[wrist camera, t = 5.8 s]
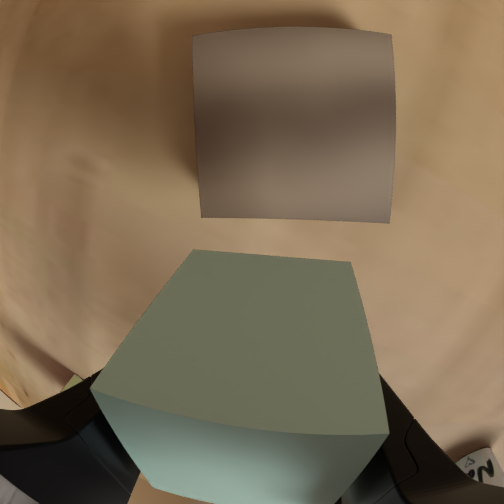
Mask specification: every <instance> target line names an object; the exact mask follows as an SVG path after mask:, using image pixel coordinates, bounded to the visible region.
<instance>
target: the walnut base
mask: <svg viewBox="0 0 504 504" xmlns="http://www.w3.org/2000/svg"><path fill="white" fill-rule="evenodd" d="M192 51H193V92H194V117H195V137H196V154H197V170H198V184H199V197H200V209H201V218H263V219H300V220H327V221H350V222H370V223H388V224H389V223H390V214H391V205H392V194H393V181H394V165H395V140H396V95H395V72H394V57H393V45H392V35H391V34H385V33H379V32H371V31H363V30H354V29H343V28H328V27H264V28H249V29H238V30H228V31H220V32H212V33H206V34H199V35H193V36H192Z"/></svg>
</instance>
